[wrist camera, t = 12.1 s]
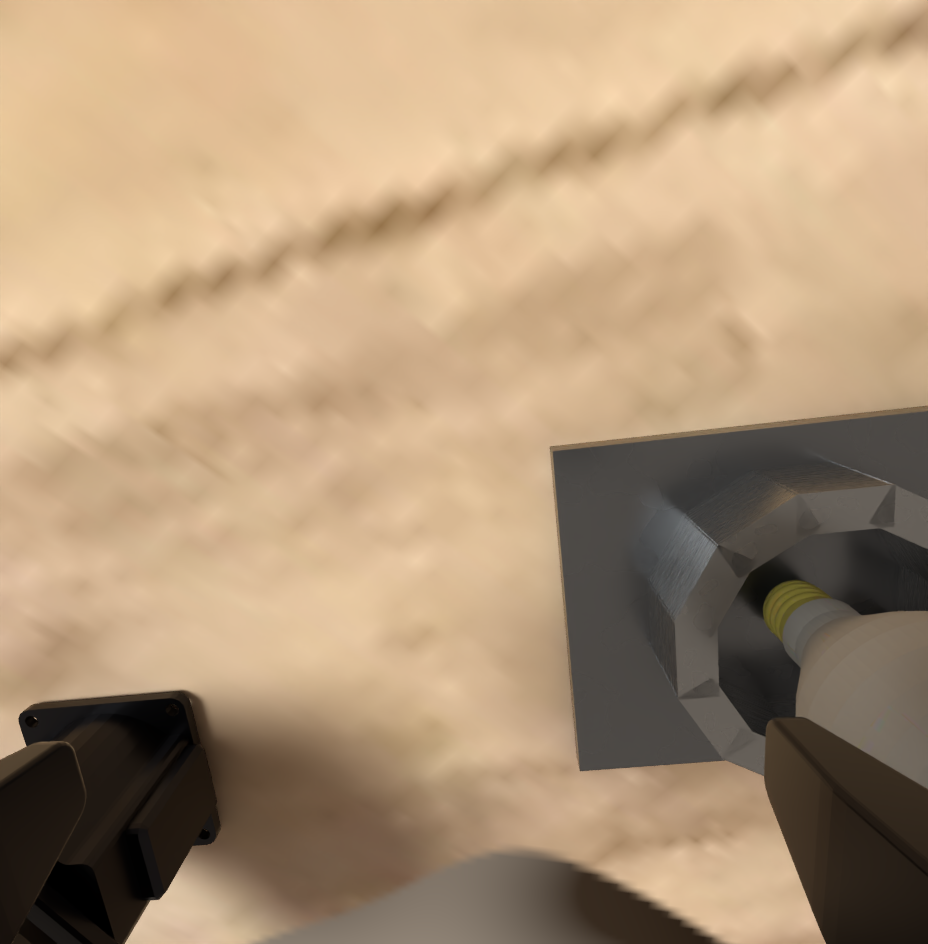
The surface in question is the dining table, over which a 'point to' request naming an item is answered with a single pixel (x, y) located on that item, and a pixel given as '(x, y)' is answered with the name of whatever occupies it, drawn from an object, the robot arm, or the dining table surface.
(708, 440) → the bulb holder
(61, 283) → the dining table surface
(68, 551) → the dining table surface
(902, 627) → the light bulb
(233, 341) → the dining table surface
